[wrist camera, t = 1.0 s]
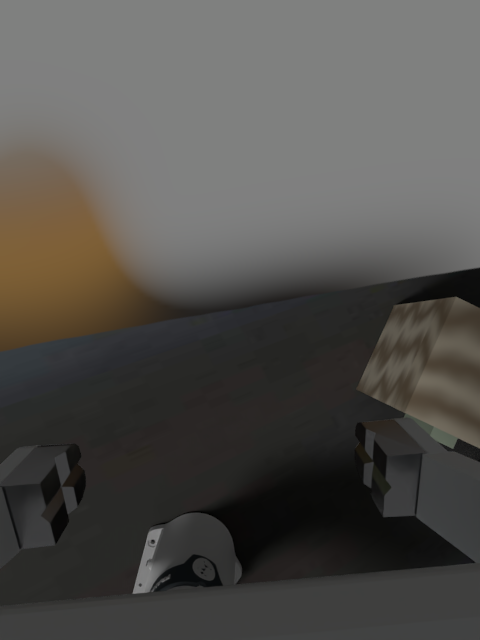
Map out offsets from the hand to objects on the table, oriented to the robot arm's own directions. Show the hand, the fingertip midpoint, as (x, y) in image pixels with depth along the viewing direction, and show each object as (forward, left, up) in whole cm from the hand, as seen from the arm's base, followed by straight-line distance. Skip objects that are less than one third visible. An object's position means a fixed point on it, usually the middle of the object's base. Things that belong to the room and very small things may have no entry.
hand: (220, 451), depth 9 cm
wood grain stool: (+12, -39, -49) cm, 63 cm away
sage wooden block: (+3, -39, -49) cm, 62 cm away
